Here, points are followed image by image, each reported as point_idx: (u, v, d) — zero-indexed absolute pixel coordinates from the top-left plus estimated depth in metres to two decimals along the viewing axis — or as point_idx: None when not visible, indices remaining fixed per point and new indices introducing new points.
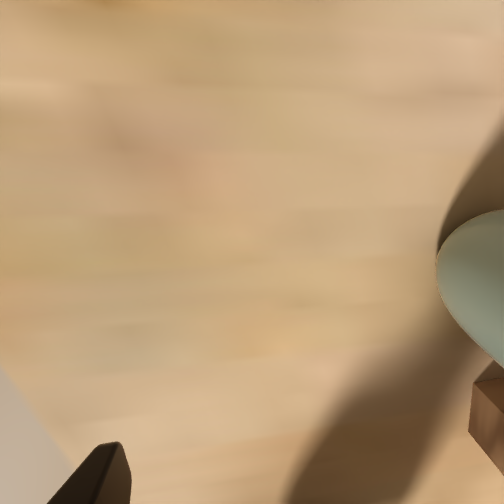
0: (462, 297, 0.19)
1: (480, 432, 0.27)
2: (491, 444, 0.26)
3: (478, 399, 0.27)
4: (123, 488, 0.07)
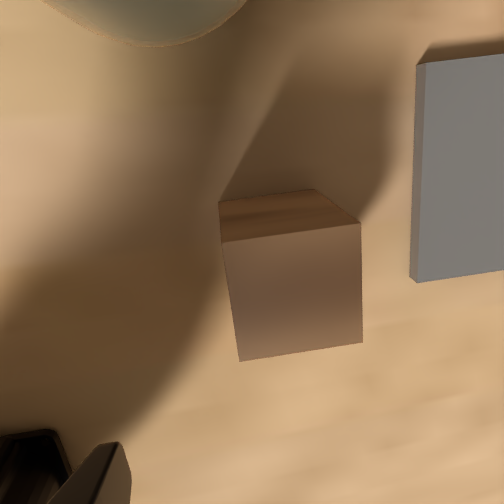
0: None
1: None
2: None
3: None
4: (123, 488, 0.07)
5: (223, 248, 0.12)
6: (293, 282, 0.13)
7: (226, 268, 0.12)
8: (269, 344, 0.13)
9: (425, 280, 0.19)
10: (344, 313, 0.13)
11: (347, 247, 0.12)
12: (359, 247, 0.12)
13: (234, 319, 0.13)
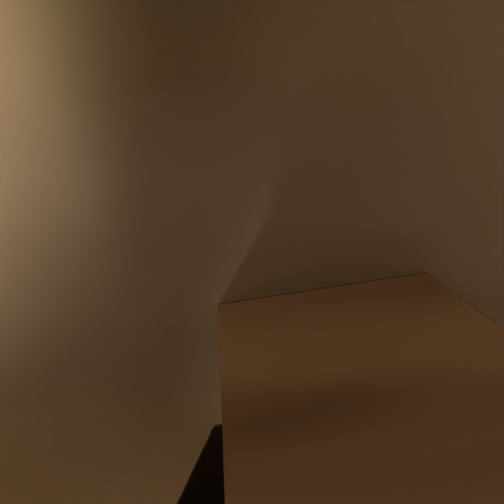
0: None
1: None
2: None
3: None
4: None
5: None
6: None
7: None
8: None
9: None
10: None
11: None
12: None
13: None
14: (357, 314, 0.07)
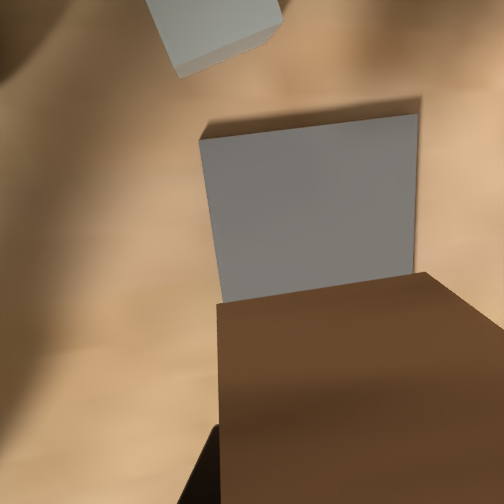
0: None
1: None
2: None
3: None
4: None
5: None
6: None
7: None
8: None
9: None
10: None
11: None
12: None
13: None
14: (356, 313, 0.07)
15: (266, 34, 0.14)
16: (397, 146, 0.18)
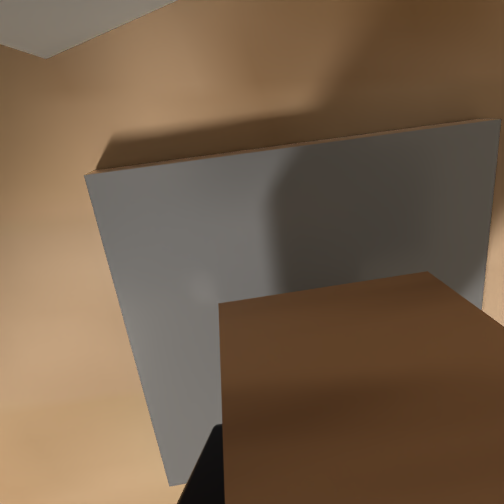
0: None
1: None
2: None
3: None
4: None
5: None
6: None
7: None
8: None
9: (182, 482, 0.12)
10: None
11: None
12: None
13: None
14: (358, 312, 0.07)
15: None
16: (460, 179, 0.10)
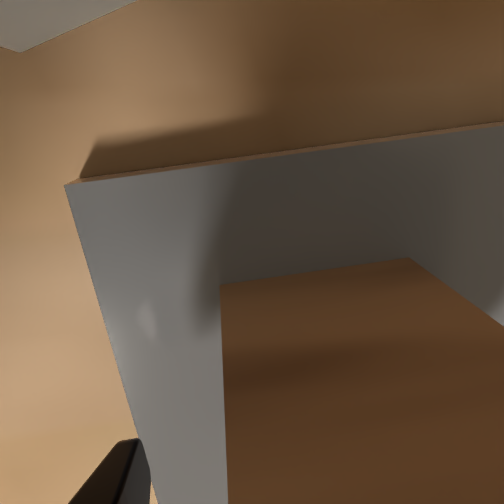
0: None
1: None
2: None
3: None
4: (143, 484, 0.07)
5: None
6: None
7: None
8: None
9: None
10: None
11: None
12: None
13: None
14: (344, 291, 0.08)
15: None
16: (488, 188, 0.09)
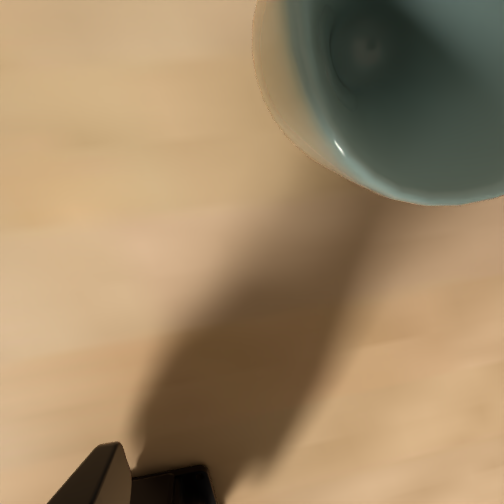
0: (254, 56, 0.12)
1: None
2: None
3: None
4: (123, 488, 0.07)
5: None
6: None
7: None
8: None
9: None
10: None
11: None
12: None
13: None
14: None
15: None
16: None
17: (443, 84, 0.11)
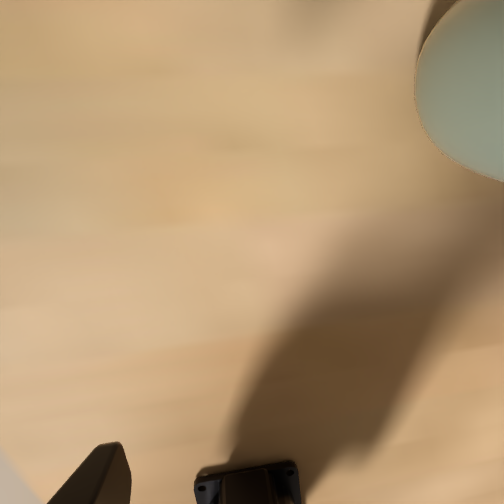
0: (448, 76, 0.13)
1: None
2: None
3: None
4: (123, 488, 0.07)
5: None
6: None
7: None
8: None
9: None
10: None
11: None
12: None
13: None
14: None
15: None
16: None
17: None
